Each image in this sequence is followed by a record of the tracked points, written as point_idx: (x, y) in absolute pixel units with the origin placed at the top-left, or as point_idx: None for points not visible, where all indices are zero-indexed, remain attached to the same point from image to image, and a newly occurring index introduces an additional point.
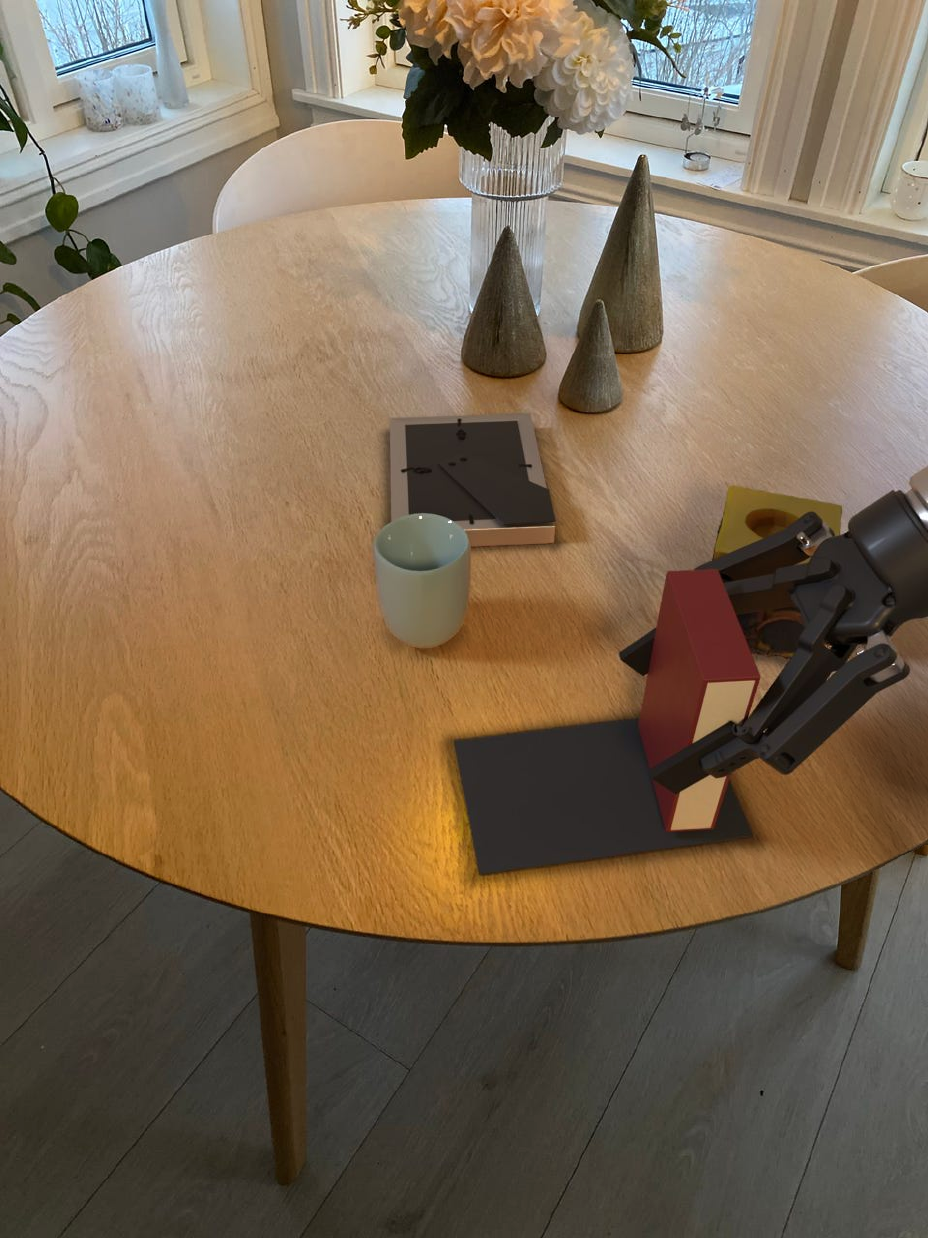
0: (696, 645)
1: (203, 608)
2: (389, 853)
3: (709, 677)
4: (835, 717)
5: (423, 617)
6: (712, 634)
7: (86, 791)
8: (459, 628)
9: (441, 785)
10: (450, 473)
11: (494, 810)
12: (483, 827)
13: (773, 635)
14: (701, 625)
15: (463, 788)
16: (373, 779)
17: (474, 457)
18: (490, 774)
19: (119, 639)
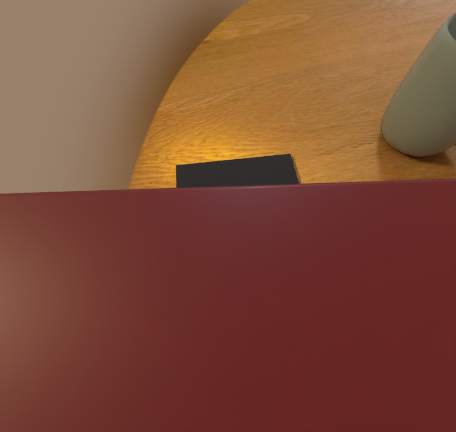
0: (191, 204)
1: (385, 35)
2: (199, 123)
3: None
4: None
5: (401, 96)
6: (282, 319)
7: (247, 17)
8: (410, 149)
9: (251, 148)
10: None
11: (226, 175)
12: (212, 168)
13: None
14: (360, 264)
15: (246, 158)
16: (256, 114)
17: None
18: (259, 174)
19: (349, 12)
